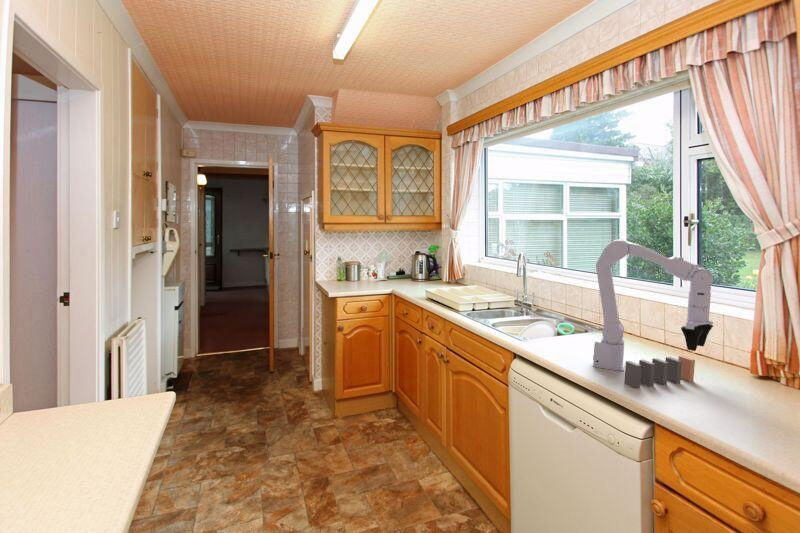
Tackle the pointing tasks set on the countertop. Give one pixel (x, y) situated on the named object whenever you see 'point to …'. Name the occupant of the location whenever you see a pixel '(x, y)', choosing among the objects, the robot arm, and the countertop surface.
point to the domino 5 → (687, 368)
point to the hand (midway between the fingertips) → (695, 347)
